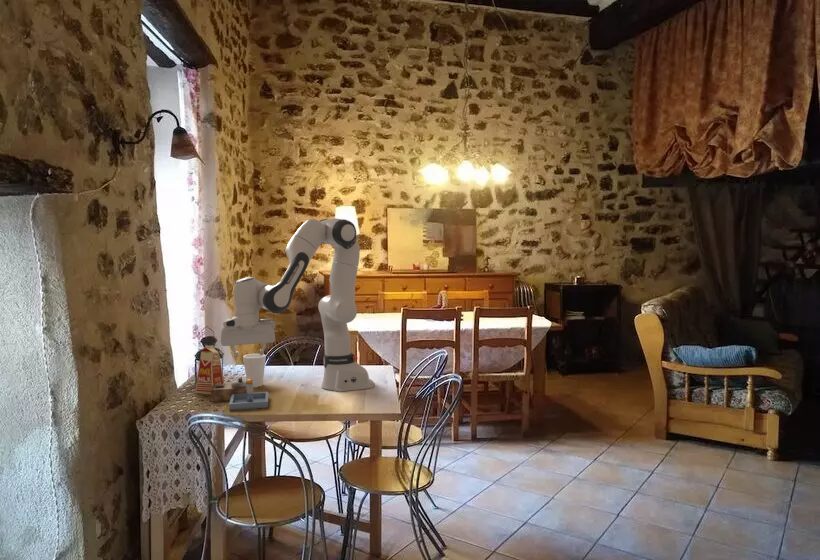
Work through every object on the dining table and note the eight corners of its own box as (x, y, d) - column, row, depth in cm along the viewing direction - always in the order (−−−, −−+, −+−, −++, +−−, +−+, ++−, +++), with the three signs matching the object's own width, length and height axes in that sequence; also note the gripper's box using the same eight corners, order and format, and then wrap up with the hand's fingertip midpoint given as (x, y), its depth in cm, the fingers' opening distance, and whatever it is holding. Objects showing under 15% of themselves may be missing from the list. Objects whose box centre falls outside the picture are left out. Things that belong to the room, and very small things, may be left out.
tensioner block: (250, 393, 246) (249, 375, 246) (249, 398, 239) (248, 380, 238) (213, 395, 243) (212, 377, 243) (211, 401, 236) (210, 382, 235)
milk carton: (214, 394, 245) (213, 346, 244) (194, 393, 247) (192, 345, 246) (226, 388, 254) (224, 342, 253) (206, 387, 256) (204, 341, 254)
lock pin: (253, 401, 233) (252, 378, 232) (253, 403, 231) (252, 380, 230) (247, 401, 232) (246, 379, 232) (246, 403, 230) (246, 380, 229)
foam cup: (265, 381, 265) (264, 352, 264) (267, 387, 257) (266, 357, 255) (243, 383, 262) (242, 354, 261) (244, 388, 254) (243, 358, 252)
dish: (268, 397, 240) (268, 391, 240) (267, 408, 226) (267, 401, 226) (232, 400, 237) (232, 394, 237) (229, 410, 223) (229, 404, 223)
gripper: (275, 317, 234) (276, 351, 235) (220, 320, 230) (222, 355, 231) (274, 319, 228) (276, 355, 229) (218, 323, 224) (221, 359, 225)
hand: (249, 355), depth 230 cm, fingers open, 8 cm apart
